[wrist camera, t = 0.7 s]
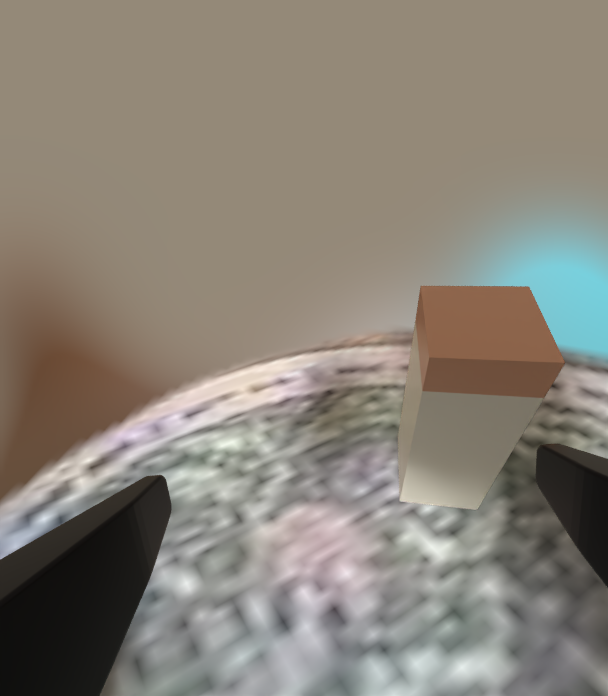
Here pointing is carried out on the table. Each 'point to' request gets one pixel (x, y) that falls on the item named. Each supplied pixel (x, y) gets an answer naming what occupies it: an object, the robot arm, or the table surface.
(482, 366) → the plug
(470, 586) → the table surface
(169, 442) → the table surface
